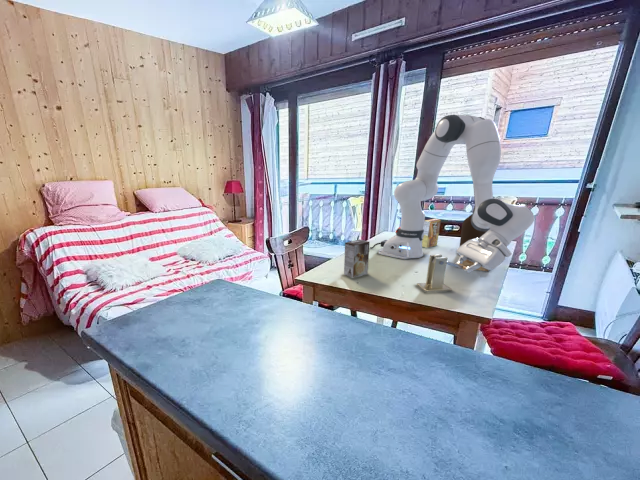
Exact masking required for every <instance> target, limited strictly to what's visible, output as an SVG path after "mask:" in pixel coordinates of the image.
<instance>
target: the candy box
mask: <svg viewBox="0 0 640 480" xmlns="http://www.w3.org/2000/svg"><path fill="white" fill-rule="evenodd" d="M441 223H442V219H440V218H432V219H425V220H424V228H423V229H424V237H423V240H422V248H424V249H429V248H432V247H436V246H438V242H439V241H438V240H439V236H440V235H439V234H440V229H441Z"/></svg>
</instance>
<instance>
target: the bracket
mask: <svg viewBox="0 0 640 480" xmlns="http://www.w3.org/2000/svg"><path fill="white" fill-rule="evenodd" d="M434 257H439V258H435V261H434V263H433V262H432V261H433V259H434ZM447 262H448V257H446V256H444V257H443V254H439V253H438V254H430V255H429V260H428V265H427V273H426V278H425V279H426V280H425V282H417V283H416V285H417V286H419V287H420V288H421V289H422V290H423V291H425V293H426V292H448V291H452V288H451V287H449V286H448V285H447V284H445V283H444V281H445V277H446V270H447V266H448V265H447Z"/></svg>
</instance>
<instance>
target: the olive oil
mask: <svg viewBox="0 0 640 480" xmlns="http://www.w3.org/2000/svg"><path fill="white" fill-rule="evenodd" d="M474 209H475V205H474V206H473V209H472V210H473V211H472V213H471V214H470V215H469V216H467V217H465V219H464V220H463V222H462V224H461V232H460V240H459V246H458V248H459V247H460V246H461V245H463V244H464V243H465V242H467V241H468V240H471V239H475V238H480V237H481V236H482V235H484V234H485V233H486V231H479V230H476V229H475V228H474V227H473V226H472V224H471V217H472V214H473V212H474Z"/></svg>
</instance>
